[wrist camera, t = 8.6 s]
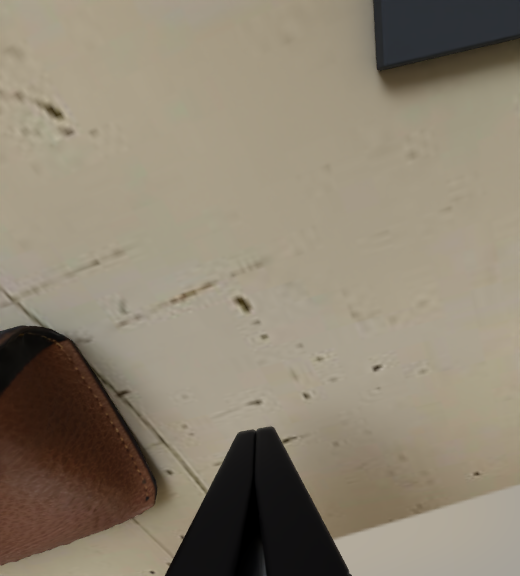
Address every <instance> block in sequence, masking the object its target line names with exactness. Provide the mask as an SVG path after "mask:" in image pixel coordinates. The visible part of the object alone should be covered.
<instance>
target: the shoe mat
mask: <svg viewBox="0 0 520 576" xmlns="http://www.w3.org/2000/svg"><path fill="white" fill-rule="evenodd" d="M373 3H374V22H375V41H376V60H377V70H379V71H381V70H385V69H390V68H394V67H398V66H402V65H407V64H411V63H415V62H420V61H424V60H428V59H432V58H437V57H441V56H445V55H450V54H454V53H458V52H462V51H467V50H471V49H475V48H479V47H484V46H488V45H492V44H497V43H501V42H505V41H509V40H514V39H518V38H520V0H373Z"/></svg>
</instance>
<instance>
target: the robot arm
mask: <svg viewBox="0 0 520 576" xmlns="http://www.w3.org/2000/svg"><path fill="white" fill-rule="evenodd" d="M165 576H352V575H351V574H349V570H348V568H347V566H346V564H345V562H344V560H343V558H342V556H341V554H340V552H339V551H338V549H337V547H336V545H335V543H334V541H333V539H332V537H331V535H330V533H329V531H328V530H327V528H326V526H325V524H324V522H323V520H322V518H321V516H320V514H319V512H318V510H317V509H316V507H315V505H314V503H313V501H312V499H311V497H310V495H309V493H308V491H307V489H306V488H305V486H304V484H303V482H302V480H301V478H300V476H299V474H298V472H297V470H296V469H295V467H294V465H293V463H292V461H291V459H290V457H289V455H288V453H287V451H286V449H285V448H284V446H283V444H282V442H281V440H280V438H279V436H278V434H277V432H276V430H275V429H274V427H265V428H259V429H257V431H255V430H247V431H241V432H239V433H238V434H237V435H236V437H235V439H234V441H233V443H232V445H231V447H230V449H229V451H228V453H227V455H226V457H225V459H224V461H223V463H222V465H221V467H220V469H219V471H218V473H217V475H216V476H215V478H214V480H213V482H212V484H211V486H210V488H209V490H208V492H207V494H206V496H205V498H204V500H203V502H202V504H201V506H200V508H199V510H198V512H197V514H196V516H195V518H194V520H193V521H192V523H191V525H190V527H189V529H188V531H187V533H186V535H185V537H184V539H183V541H182V543H181V545H180V547H179V549H178V551H177V553H176V555H175V557H174V559H173V561H172V563H171V564H170V566H169V568H168V570H167V572H166V574H165Z"/></svg>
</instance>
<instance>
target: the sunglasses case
mask: <svg viewBox="0 0 520 576" xmlns="http://www.w3.org/2000/svg"><path fill="white" fill-rule="evenodd" d="M156 495H157V485H156V480H155V478H154V476H153V474H152V473H151V471H150V469H149V467H148V465H147V463H146V461H145V459H144V457H143V455H142V453H141V451H140V449H139V447H138V445H137V443H136V441H135V439H134V437H133V436H132V434H131V432H130V431H129V429H128V427H127V425H126V424H125V422H124V420H123V419H122V417H121V415H120V414H119V412H118V411H117V409H116V408H115V406H114V404H113V403H112V401H111V400H110V398H109V397H108V395H107V393H106V392H105V390H104V389H103V387H102V385H101V384H100V382H99V380H98V379H97V377H96V376H95V374H94V373H93V371H92V370H91V368H90V367H89V365H88V364H87V362H86V360H85V359H84V358H83V356H82V355H81V354H80V352H79V351H78V349H77V348H76V346H75V344H74V342H73V341H72V340H70V339H68V338H67V337H65V336H63V335H61V334H59V333H57V332H56V331H54V330H52V329H48V328H44V327H38V326H18V327H14V328H10V329H7V330H3V331H0V565H4V564H6V563H8V562H16V561H18V560H20V559H23V558H25V557H29V556H31V555H33V554H38V553H42V552H44V551H46V550H51V549H53V548H55V547H58V546H60V545H67V544H70V543H71V542H73V541H75V540H77V539H80V538H84V537H86V536H89V535H91V534H94V533H98V532H100V531H103V530H106V529H109V528H110V527H113V526H115V525H117V524H121V523H123V522H125V521H127V520H129V519H131V518H134V517H135V516H136V515H139V514H142V513H143V512H144V511H145V510H147V509H149V508H151V507H152V506H154V504H155V500H156Z"/></svg>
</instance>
